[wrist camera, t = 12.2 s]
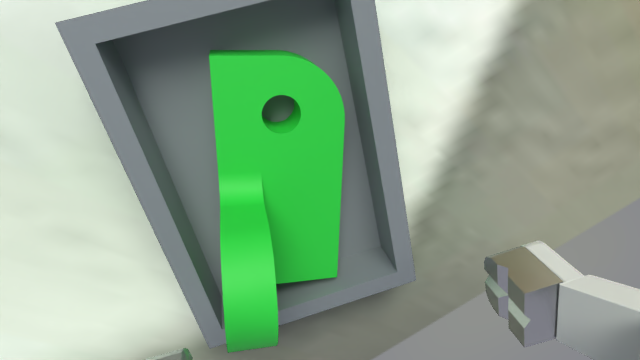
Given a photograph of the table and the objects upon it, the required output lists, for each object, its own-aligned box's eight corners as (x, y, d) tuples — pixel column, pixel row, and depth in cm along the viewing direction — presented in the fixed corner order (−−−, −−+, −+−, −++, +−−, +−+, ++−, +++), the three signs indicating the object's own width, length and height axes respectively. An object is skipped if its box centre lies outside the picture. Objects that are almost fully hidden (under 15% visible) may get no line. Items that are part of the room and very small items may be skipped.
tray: (343, -46, 20) (366, -54, 16) (393, 247, 27) (416, 280, 24) (82, 17, 18) (54, 22, 15) (210, 305, 26) (209, 348, 23)
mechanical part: (328, 257, 25) (371, 361, 18) (226, 267, 24) (229, 383, 17) (336, 49, 20) (399, 80, 13) (209, 49, 19) (204, 83, 12)
